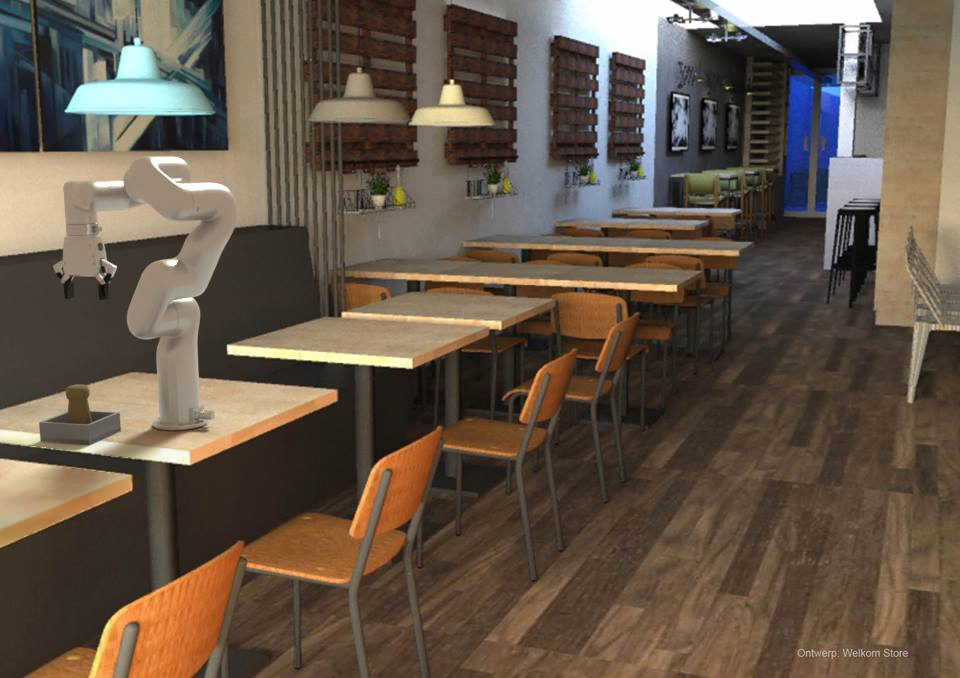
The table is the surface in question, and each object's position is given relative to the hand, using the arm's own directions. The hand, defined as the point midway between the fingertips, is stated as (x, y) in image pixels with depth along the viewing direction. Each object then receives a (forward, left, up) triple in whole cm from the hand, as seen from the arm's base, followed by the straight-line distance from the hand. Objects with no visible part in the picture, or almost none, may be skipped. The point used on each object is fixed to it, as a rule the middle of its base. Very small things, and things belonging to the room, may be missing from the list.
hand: (86, 298), depth 271 cm
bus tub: (-13, +25, -28) cm, 40 cm away
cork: (-13, +25, -28) cm, 39 cm away
